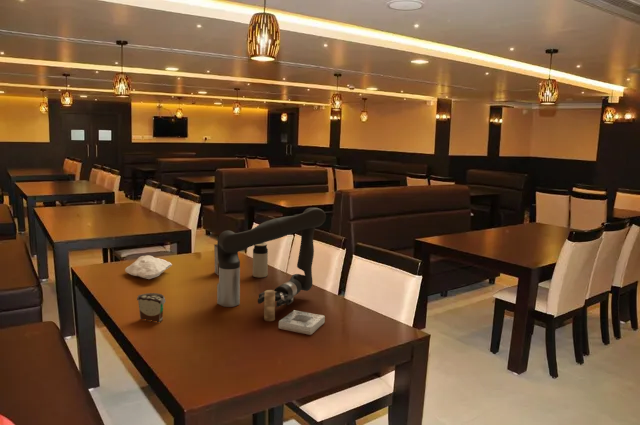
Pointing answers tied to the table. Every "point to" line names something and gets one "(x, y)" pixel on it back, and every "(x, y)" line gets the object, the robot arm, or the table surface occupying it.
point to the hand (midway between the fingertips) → (267, 303)
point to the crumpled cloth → (148, 267)
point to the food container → (151, 306)
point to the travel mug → (260, 260)
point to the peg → (269, 305)
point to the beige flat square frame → (301, 322)
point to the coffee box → (216, 259)
